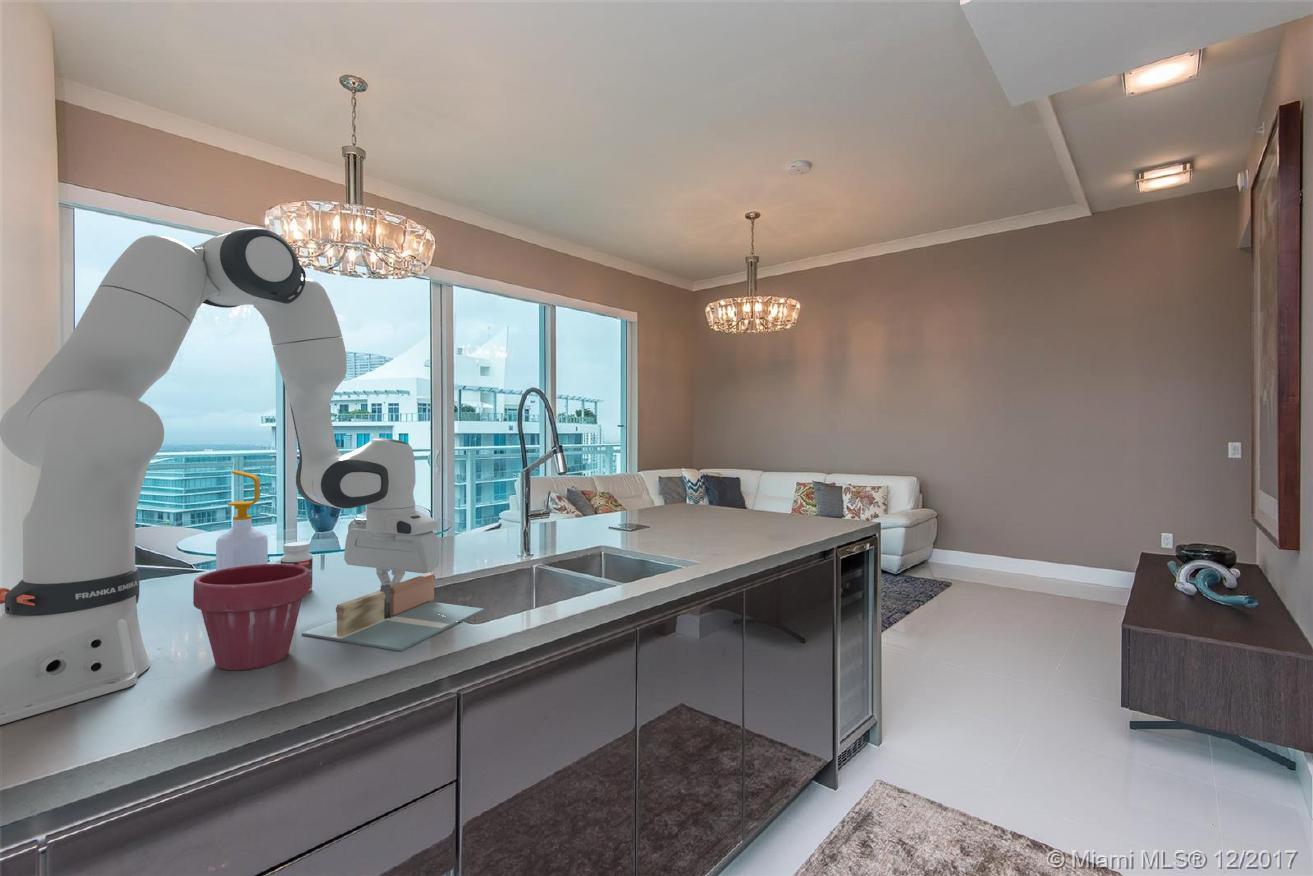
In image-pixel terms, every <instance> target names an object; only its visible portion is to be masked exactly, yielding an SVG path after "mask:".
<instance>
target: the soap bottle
mask: <svg viewBox="0 0 1313 876" xmlns="http://www.w3.org/2000/svg"><path fill="white" fill-rule="evenodd" d="M231 474H233V475H238V476H241V477H245V478H247V479H251V480H252V481H253V484H254V490H253V491H254V498H253V500H246V501H230V502H229V503H227V506H229V507H233V506H234V510H237V515H234V516H232V527H230V529H228V530H227V531H225V532H223V533H222V534H221V535H219V536H218V537H217V540H216V542H215V571H217V570H221V569H226V568H232V567H239V566H247V565H258V564H268V555H269V554H268V553H269V552H268V542H269V541H268V537H267V535H266V532H264V531H262V530H260V529H259V528H257V527H254V526H253V525H252V524H253V523H252V522H253V521H252V519H253V518H252V517H253V516H252V515H251V514H248V510H249V509H250V508H251V506H252V505H255V504H256V503H257V502H258V501H259V500H260V497H261V496H260V494H261V493H260V492H261V491H260V488H261V481H260V477H259V476H258V475H256V474H254V473H250V472H246V471H242V470H239V469H238V470H237V469H234V470H232V471H231Z"/></svg>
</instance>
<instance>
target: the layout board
mask: <svg viewBox="0 0 1313 876" xmlns="http://www.w3.org/2000/svg"><path fill="white" fill-rule="evenodd" d="M484 610H485V609H484V608H482V607H472V606H466V605H459V604H452V603H451V604H450V603H445V602H443V603H442V602H435V601H427V602H425V603H422V604H420V605H418V606H415V607H413V608H410V609H408V610H405V611H403V612H400V613H398V614H395V615H390V618H386V619H384V620H382V621H379V622H377V623H374V624H372V625H369V626H367V627H364V628H362V629H359V630H357V631H354V632H352V633H349V634H347V635H345V636H340V635H337V619H335V620H333V621H331V622H327V623H324V624H322V625H319V626H316V627H314V628H311V629H308V630H305V631H303V632H301V636H304V637H305V636H306V637H312V638H316V639H317V638H318V639H325V640H329V641H335V642H340V643H341V642H343V643H347V644H355V645H360V646H366V647H367V646H368V647H373V648H378V649H385V650H389V651H395V652H396V651H397V652H402V651H404V650H406V649H408V648H410V647H413V646H414V645H416V644H419V643H420V642H423V641H425V640H427V639H429V638H431V637H433V636H434V635H437V634H439V633H441V632H444V631H445V630H447V629H449V628H451V627H453V626H456V625H457V624H459V623H458V622H460V623H461V622H463V621H466V620H467V619H470V618H472V617H474V616H475V615H478V614H480V613H483V612H484ZM438 614H440V615H438ZM441 615H444V616H446V617H442V616H441ZM456 621H458V622H456Z"/></svg>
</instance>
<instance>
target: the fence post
mask: <svg viewBox="0 0 1313 876" xmlns="http://www.w3.org/2000/svg"><path fill="white" fill-rule="evenodd" d="M380 591H381V592H384V594H385V599H384V619H386V618H390V585H389V584H385V585H380Z"/></svg>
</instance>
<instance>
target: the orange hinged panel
mask: <svg viewBox="0 0 1313 876" xmlns="http://www.w3.org/2000/svg"><path fill="white" fill-rule="evenodd" d="M435 580H436V575H435V573H434V572H433V573H432V572H428V573H423V574H422V575H418V576H416V577H413V578H408V579H406V580H403V581H400V583H397V584H394V585H391V586H390V615H395V614H398V613H400V612H403V611H405V610H408V609H410V608H413V607H415V606H418V605H420V604H422V603H425V602H427V601H429V602H431V601H433V600H434V599H435Z"/></svg>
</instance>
